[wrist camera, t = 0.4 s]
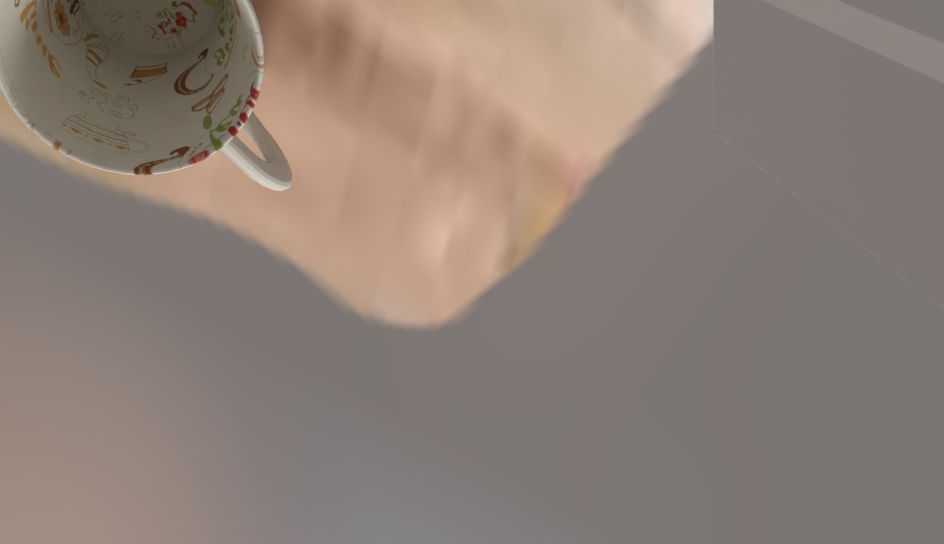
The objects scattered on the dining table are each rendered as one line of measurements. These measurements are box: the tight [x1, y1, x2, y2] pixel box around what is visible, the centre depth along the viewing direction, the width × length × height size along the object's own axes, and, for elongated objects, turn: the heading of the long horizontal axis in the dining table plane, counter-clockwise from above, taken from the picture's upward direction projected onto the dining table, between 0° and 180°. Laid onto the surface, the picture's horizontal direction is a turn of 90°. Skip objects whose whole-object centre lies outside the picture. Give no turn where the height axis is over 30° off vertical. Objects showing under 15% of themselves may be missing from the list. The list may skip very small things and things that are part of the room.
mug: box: [0, 0, 292, 191], centre depth 33 cm, size 8×12×10 cm, turn 36°
